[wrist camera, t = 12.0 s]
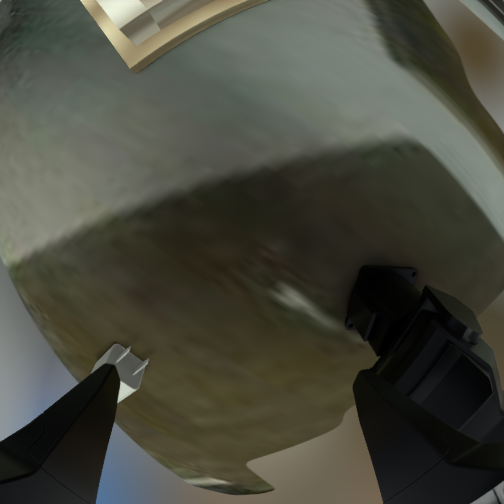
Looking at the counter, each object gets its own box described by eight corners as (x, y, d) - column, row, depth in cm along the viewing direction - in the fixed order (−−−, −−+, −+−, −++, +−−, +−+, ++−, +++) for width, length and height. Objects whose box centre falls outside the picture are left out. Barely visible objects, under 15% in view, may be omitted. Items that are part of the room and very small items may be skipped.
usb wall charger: (97, 358, 24) (85, 384, 21) (128, 328, 23) (115, 356, 19) (126, 379, 26) (117, 406, 22) (160, 352, 24) (152, 382, 20)
